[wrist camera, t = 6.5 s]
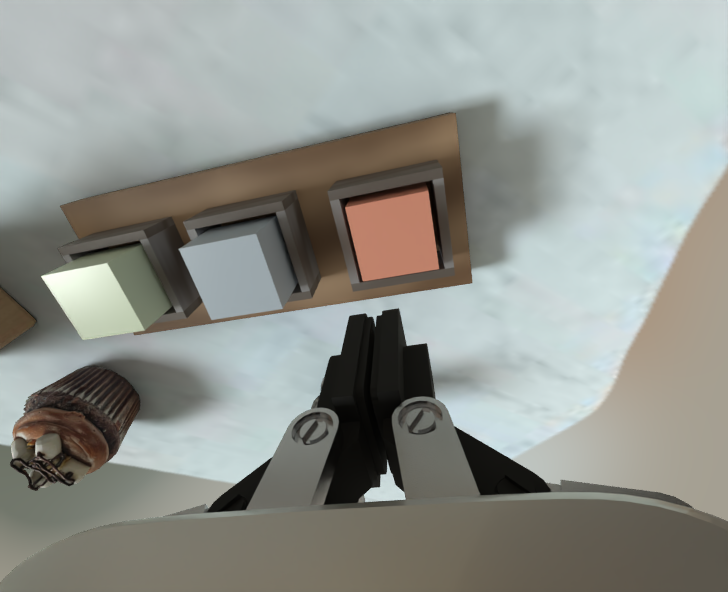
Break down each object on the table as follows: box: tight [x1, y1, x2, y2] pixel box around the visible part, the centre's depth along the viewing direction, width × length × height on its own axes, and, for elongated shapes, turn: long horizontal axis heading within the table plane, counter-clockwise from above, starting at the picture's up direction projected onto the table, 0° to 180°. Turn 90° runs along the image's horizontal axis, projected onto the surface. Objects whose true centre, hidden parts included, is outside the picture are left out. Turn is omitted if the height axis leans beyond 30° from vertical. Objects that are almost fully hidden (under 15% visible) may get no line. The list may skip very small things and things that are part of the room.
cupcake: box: [10, 366, 140, 491], centre depth 37 cm, size 10×10×10 cm
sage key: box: [41, 243, 173, 340], centre depth 26 cm, size 5×5×4 cm
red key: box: [345, 182, 439, 281], centre depth 25 cm, size 5×5×4 cm
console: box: [57, 113, 472, 335], centre depth 28 cm, size 12×30×6 cm, turn 102°
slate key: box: [179, 215, 298, 320], centre depth 25 cm, size 5×5×4 cm
